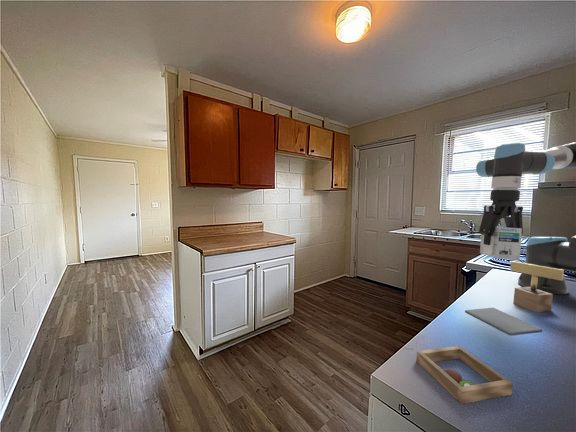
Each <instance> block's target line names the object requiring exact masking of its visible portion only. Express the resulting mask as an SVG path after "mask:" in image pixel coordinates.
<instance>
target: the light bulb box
mask: <svg viewBox="0 0 576 432" xmlns="http://www.w3.org/2000/svg"><path fill="white" fill-rule="evenodd" d="M489 232H490V231H489ZM521 233H522V228H511V227H506V226H499V225H497V227H496V228H495V231H494V233H493V235H492V236H495V239H494V249H493V255H489V254H485V253H483V252H484V235H482V234H481V233H480V246H479V247H480V248H479V249H480V250H479V254H481V255H485V256H489V257H492V258H495V259H502V260H512V261H521V246H522V234H523V233H522V234H521Z"/></svg>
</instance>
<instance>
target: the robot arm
mask: <svg viewBox="0 0 576 432" xmlns="http://www.w3.org/2000/svg"><path fill="white" fill-rule="evenodd" d="M475 168H476V169H475V171H476V172H475V173H476V174H477V175H478V176H479V177H482V178H491V177H492V178H491V188H490V189H492V190H490V196H489V197H490V198H489V199H490V201H492V202H491V203H492V204H491V205H484V206H483V215H482V218H481V222H480V226H479V229H478V230H479V231H478V233H479V234H480V235H481V234H482V235H484V252H483V253H485V254H489V255H493V249H494V239H495V236H492V235H493V233H494V231H495V228H496V227H497V226H499V223H500V222H501V221H500V220H502V219H504V224H505V227H511V228H522V233H521V235H522V234H524V231H523V227H524V226H523V210H524V206H522V205H521V206H520V205H519V206H518V205H517V204H516V202H519V201H520V197H521V196H520V195H521V191H520V190H519V189H521V183H522V176H523V175H531V174H532V175H542V174H546V173H548V172H550V171H551V170H561V169H576V141H575V142H571V143H566V144H562V145H557V146H552V147H550V148H549V149H546V150H545V149H544V150H538V151H537V150H536V151H533V150H532V151H529V150H527V151H526V145H525V143H523V142H510V143H501V144H499V145H498V146H496V147H495V151H494V156H493V157H490V158H484V159H481V160H479V161H478V162H477V164H476V166H475ZM489 231H490V232H489ZM527 240H528V241H527V243H526V253H525V262H524V263H528V264H534V265H539V266H545V267H551V268H557V269H563V270H564V271H567V272H568V271H569V272H573V273H576V235H574V236H571V239H570V241H569V239H568V237H564V236H531V237H529V238H528V239H527ZM531 278H532V275H530V274H525V273H521V274H520V275H519V277H518V278H517V279H518V280H517V284H518V285H519V286H521V287H531ZM537 289H538V290H541V291H544V292H548V293H551V294H553V295H567V294H568V292H569V287H568V283H567V280H566V277H565V275H564V274H563V280H562V281H561V280H556V279H551V278H546V277H540V276H538V282H537Z"/></svg>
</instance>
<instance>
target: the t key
mask: <svg viewBox="0 0 576 432" xmlns="http://www.w3.org/2000/svg"><path fill="white" fill-rule="evenodd" d="M510 272H515V273H516V272H517V273H525V274H530V275H532V278H531V287H530V289H531V290H537V282H538V276H540V277H546V278H551V279H556V280H561V281H562V280H563V275H564V272H565V270H563V269H557V268H551V267H545V266H539V265H534V264H528V263H525V262H521V261H517V260H511V262H510Z"/></svg>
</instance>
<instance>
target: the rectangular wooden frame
mask: <svg viewBox="0 0 576 432" xmlns="http://www.w3.org/2000/svg"><path fill="white" fill-rule="evenodd" d="M456 359H458V360H460V361H461V362H463V364H465V365H466V366H468V367H469V368H471V369H472V370H473V371H475V373H477V374H479V376H481V377H482V378H484V379H485V380H487V381H488V382H482V383H478V384H475V385H470V386H464V387H462V386H461V385H459V384H458V383H457V382H456V381H455V380H454V379H453V378H451V377H450V376H449V375H448V374H447V373H446V372H445V371H444V370H443V368H442V367H440V366H439V365H438V364H436V362H442V361H450V360H456ZM415 361H416V362H417V364H419V365H420V366H421V367H422V368H423V369H424V370H425V371H426V372H427V373H428V374H429V375H431V376H432V377H433V379H434V380H435V381H436V382H438V384H440V385H441V386H442V387H443V388H444V389H445V390H447V392H448V393H449V394H450V395H452V396H453V397H454V398H455V399H456V401H458V402H459V403H460V404H461V405H462V404H469V403H474V402H480V401H486V400H490V399H495V398H501V396H502V397H506V396H507V395H508V396H512V394H513V384H514V382H512V381H511V380H509V379H508V378H506V377H505V376H504V375H502V374H501V373H499V372H497V371H496V370H495V369H493V368H492V367H490V365H488V364H486V363H485V362H483V361H481V360H480V359H479V358H478V357H476V356H474V355H473V354H471V353H470V352H468V351H467V350H466V349H465V348H463V347H462V346H460V345H456V346H454V345H453V346H447V347H440V348H439V347H438V348H433V349H423V350H417V351H416V359H415ZM489 381H490V382H489ZM508 396H507V397H508Z"/></svg>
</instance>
